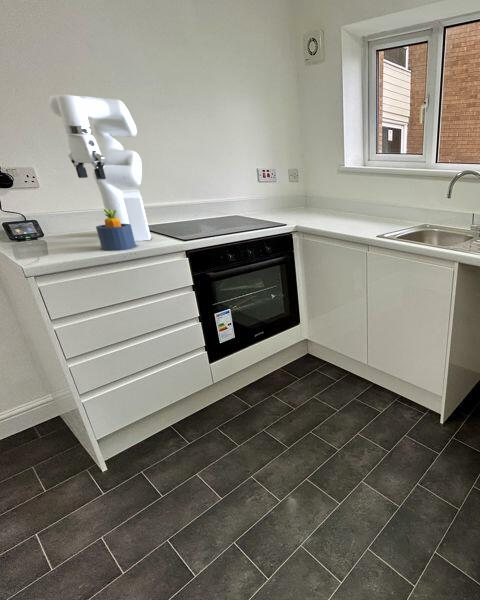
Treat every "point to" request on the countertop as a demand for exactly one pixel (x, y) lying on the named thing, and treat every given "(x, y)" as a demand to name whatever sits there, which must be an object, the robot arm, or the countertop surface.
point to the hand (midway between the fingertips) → (92, 178)
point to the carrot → (111, 219)
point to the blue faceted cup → (116, 237)
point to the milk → (136, 215)
